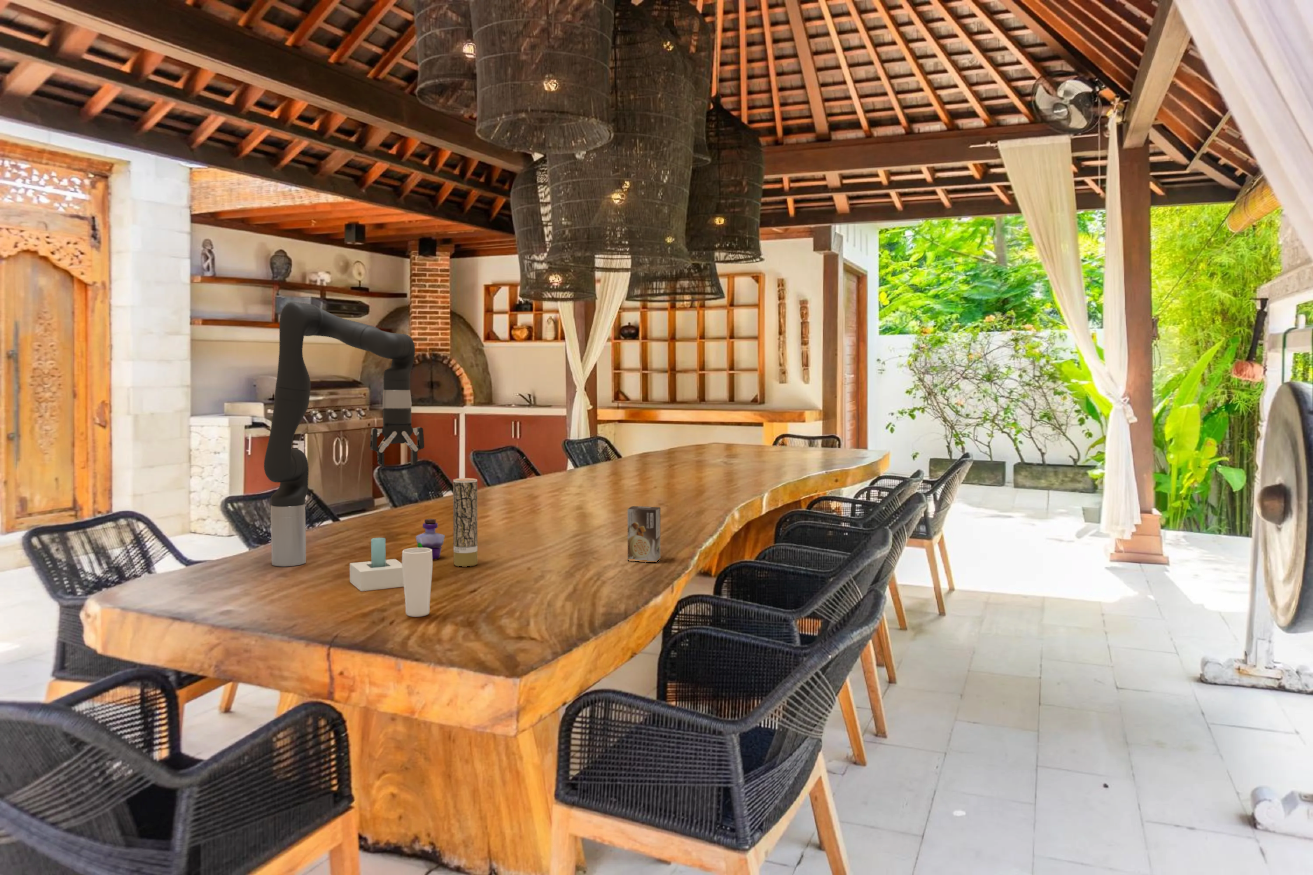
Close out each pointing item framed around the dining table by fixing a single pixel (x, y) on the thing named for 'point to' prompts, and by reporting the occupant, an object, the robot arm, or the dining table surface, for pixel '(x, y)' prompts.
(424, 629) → the dining table surface
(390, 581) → the socket block
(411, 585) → the drinking glass
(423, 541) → the potion bottle
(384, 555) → the peg
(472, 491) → the paper tube
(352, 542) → the dining table surface
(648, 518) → the coffee box
